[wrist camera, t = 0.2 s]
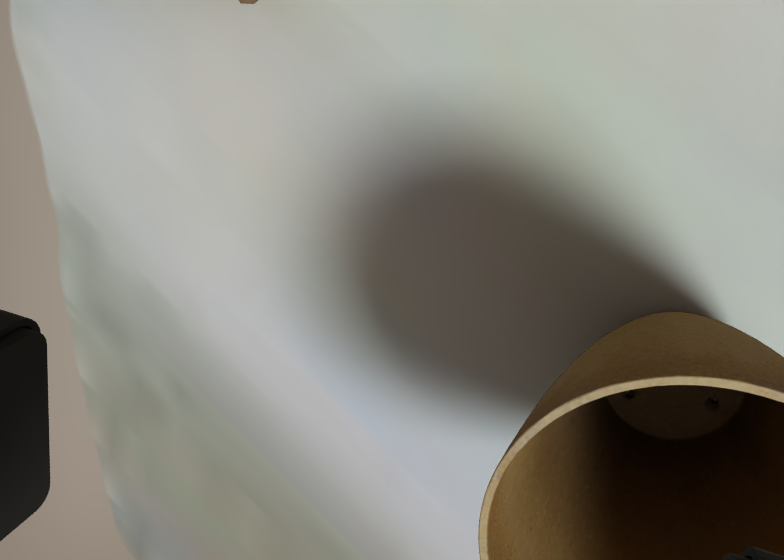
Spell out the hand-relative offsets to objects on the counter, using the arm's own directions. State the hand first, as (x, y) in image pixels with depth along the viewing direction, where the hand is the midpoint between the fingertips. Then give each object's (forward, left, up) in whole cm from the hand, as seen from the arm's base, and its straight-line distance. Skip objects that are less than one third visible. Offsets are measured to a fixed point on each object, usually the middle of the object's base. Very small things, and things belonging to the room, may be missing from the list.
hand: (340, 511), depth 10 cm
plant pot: (+2, +14, -31) cm, 34 cm away
